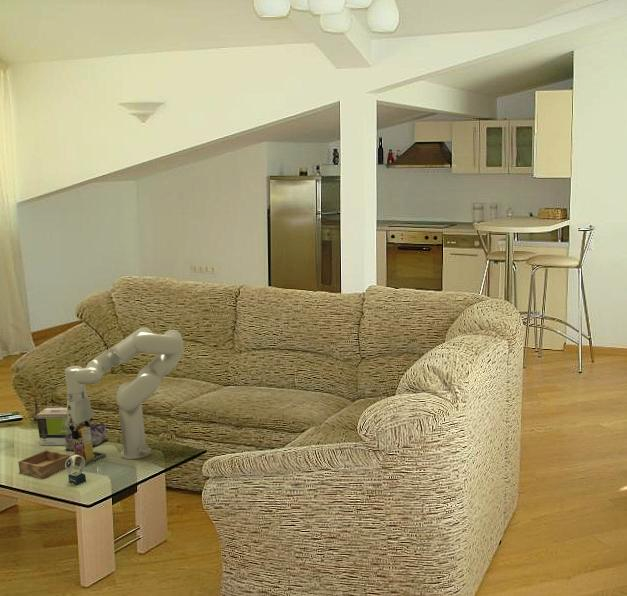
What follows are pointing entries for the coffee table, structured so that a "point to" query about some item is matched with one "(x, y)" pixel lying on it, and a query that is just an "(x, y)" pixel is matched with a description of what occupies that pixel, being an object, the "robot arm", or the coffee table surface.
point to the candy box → (83, 443)
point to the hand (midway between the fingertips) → (81, 436)
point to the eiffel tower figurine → (35, 412)
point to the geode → (96, 434)
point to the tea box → (52, 426)
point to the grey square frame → (100, 456)
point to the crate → (43, 464)
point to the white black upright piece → (77, 476)
